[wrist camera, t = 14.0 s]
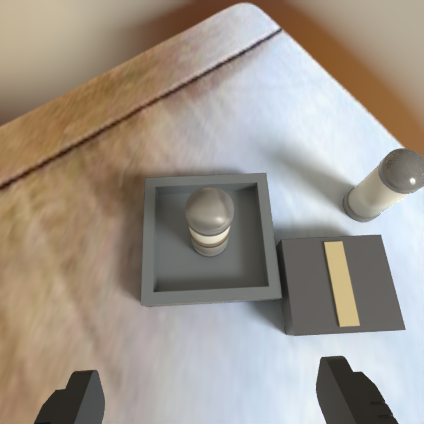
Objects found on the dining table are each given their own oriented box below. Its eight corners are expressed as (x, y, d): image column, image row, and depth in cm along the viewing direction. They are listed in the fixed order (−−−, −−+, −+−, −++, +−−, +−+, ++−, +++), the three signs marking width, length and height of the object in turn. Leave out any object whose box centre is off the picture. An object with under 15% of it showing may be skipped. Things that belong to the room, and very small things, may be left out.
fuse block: (286, 334, 27) (295, 335, 24) (274, 247, 29) (282, 238, 26) (385, 329, 27) (407, 329, 24) (364, 243, 30) (382, 234, 27)
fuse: (347, 222, 30) (391, 189, 23) (339, 190, 32) (379, 149, 24) (382, 221, 30) (437, 187, 23) (373, 189, 32) (423, 147, 24)
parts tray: (146, 306, 27) (140, 305, 25) (150, 188, 32) (145, 178, 29) (276, 300, 28) (282, 297, 25) (262, 184, 32) (266, 172, 30)
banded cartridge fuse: (191, 258, 28) (185, 234, 21) (190, 222, 30) (184, 187, 22) (229, 256, 28) (236, 231, 21) (226, 221, 30) (231, 185, 22)
